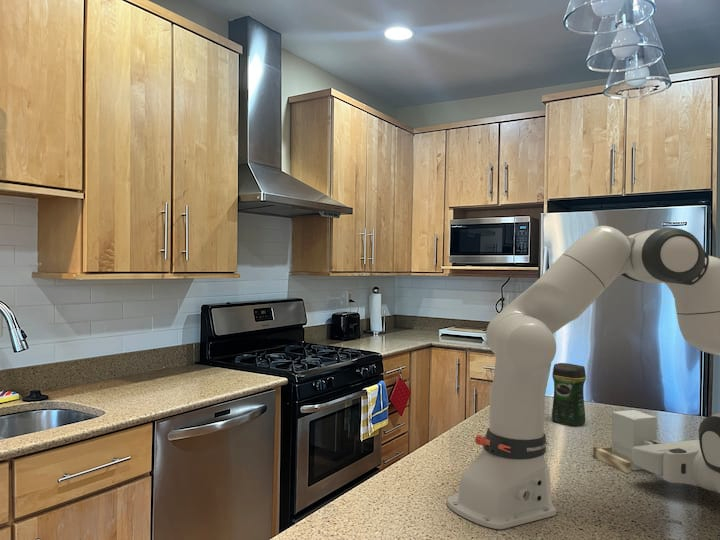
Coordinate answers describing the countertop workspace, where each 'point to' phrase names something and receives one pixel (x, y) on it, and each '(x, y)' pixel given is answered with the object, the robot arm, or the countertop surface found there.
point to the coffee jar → (568, 394)
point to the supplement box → (631, 433)
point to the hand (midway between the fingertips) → (647, 443)
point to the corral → (611, 458)
